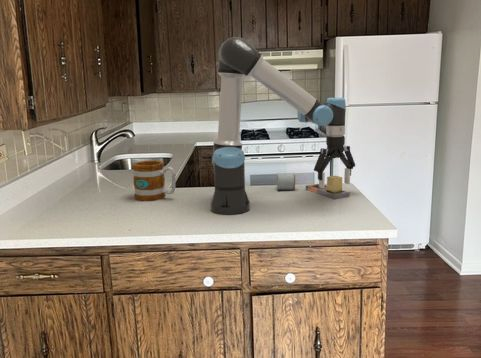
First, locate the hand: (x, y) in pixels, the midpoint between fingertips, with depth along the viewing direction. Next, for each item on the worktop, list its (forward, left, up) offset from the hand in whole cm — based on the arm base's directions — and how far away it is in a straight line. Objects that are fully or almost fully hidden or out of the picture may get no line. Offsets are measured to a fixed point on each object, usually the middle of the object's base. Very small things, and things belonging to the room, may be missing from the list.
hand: (334, 185), depth 197 cm
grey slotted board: (0, +5, -4) cm, 7 cm away
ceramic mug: (-11, +22, -5) cm, 25 cm away
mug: (-66, +38, -4) cm, 76 cm away
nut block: (0, 0, -4) cm, 4 cm away
